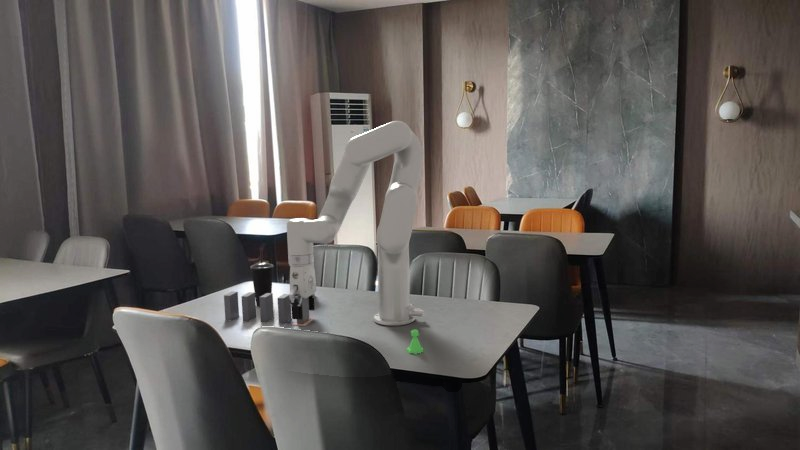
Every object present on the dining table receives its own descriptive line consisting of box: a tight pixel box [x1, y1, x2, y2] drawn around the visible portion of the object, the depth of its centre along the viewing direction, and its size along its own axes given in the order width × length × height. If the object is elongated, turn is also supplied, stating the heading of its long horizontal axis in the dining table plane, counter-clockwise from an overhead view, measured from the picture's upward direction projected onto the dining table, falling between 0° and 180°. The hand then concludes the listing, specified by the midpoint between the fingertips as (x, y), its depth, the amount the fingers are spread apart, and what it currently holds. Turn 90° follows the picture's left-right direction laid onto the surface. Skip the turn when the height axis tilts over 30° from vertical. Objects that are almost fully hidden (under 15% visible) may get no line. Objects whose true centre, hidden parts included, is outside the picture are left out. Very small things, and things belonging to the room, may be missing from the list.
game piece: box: [406, 328, 424, 355], centre depth 156 cm, size 4×4×6 cm
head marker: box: [292, 317, 314, 327], centre depth 184 cm, size 4×7×1 cm, turn 167°
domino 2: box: [241, 292, 257, 323], centre depth 188 cm, size 2×5×8 cm, turn 166°
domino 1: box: [223, 291, 240, 321], centre depth 189 cm, size 2×5×8 cm, turn 166°
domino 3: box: [259, 292, 275, 324], centre depth 186 cm, size 2×5×8 cm, turn 166°
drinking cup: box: [250, 246, 274, 308], centre depth 203 cm, size 8×8×20 cm
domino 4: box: [277, 293, 292, 324], centre depth 185 cm, size 2×5×8 cm, turn 166°
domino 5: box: [296, 297, 310, 324], centre depth 183 cm, size 2×5×8 cm, turn 166°
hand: (303, 314), depth 184 cm, fingers open, 9 cm apart
